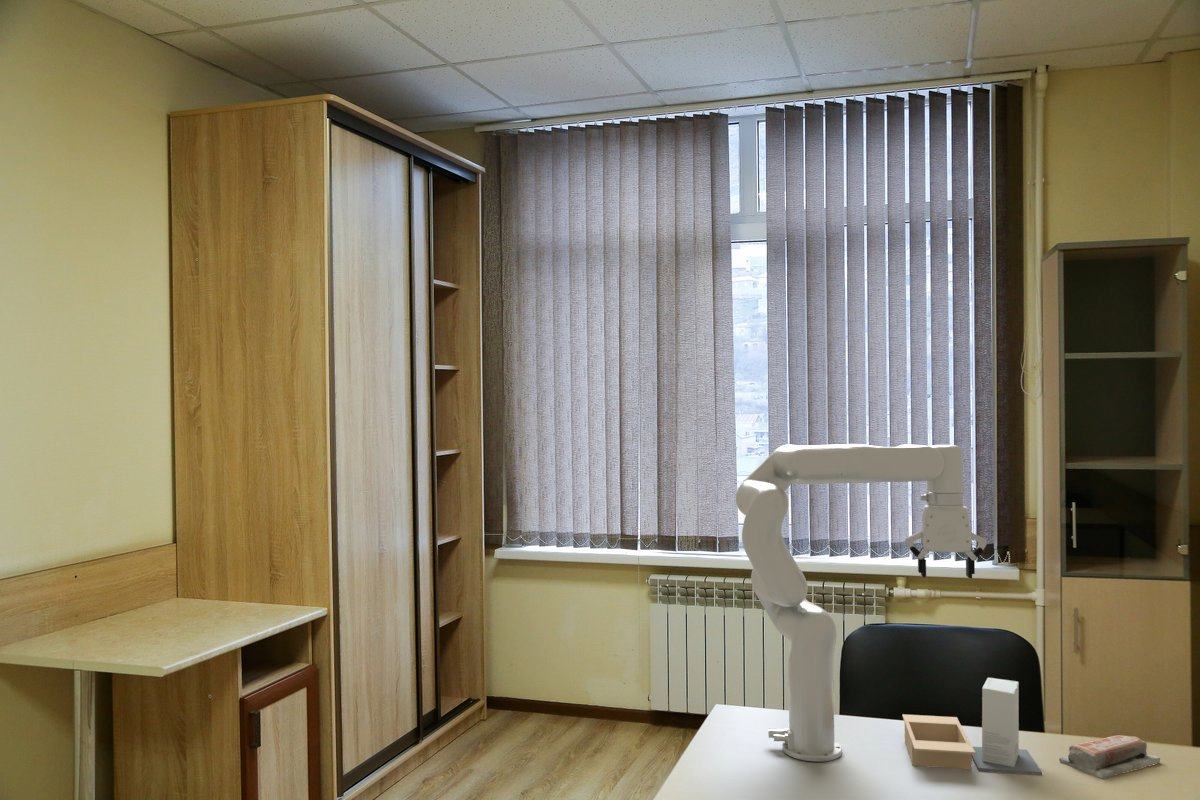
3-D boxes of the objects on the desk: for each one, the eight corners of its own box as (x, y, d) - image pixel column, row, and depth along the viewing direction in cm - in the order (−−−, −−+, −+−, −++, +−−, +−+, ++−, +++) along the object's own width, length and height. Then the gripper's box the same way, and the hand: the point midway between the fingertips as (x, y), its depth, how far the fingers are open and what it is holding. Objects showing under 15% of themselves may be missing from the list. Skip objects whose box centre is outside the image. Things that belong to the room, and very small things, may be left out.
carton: (914, 773, 185) (914, 748, 185) (902, 736, 205) (902, 714, 205) (975, 777, 182) (975, 752, 182) (957, 739, 203) (956, 717, 203)
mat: (978, 770, 185) (978, 767, 185) (967, 748, 197) (967, 746, 197) (1042, 775, 183) (1042, 772, 183) (1026, 752, 195) (1026, 749, 195)
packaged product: (1102, 757, 181) (1058, 740, 190) (1102, 781, 181) (1058, 764, 190) (1161, 741, 188) (1116, 726, 197) (1161, 765, 188) (1116, 749, 197)
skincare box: (987, 749, 195) (986, 676, 195) (1021, 754, 192) (1020, 681, 192) (981, 762, 188) (980, 687, 188) (1016, 768, 185) (1014, 691, 185)
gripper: (906, 501, 201) (907, 579, 201) (989, 502, 197) (991, 581, 197) (902, 498, 208) (903, 572, 208) (982, 498, 205) (984, 574, 205)
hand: (946, 576), depth 203 cm, fingers open, 9 cm apart
